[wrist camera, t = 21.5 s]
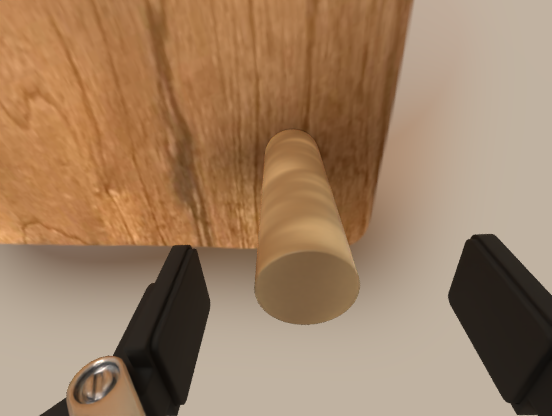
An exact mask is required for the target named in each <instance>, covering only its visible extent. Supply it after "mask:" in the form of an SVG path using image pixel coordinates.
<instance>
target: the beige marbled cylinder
mask: <svg viewBox="0 0 552 416" xmlns="http://www.w3.org/2000/svg"><path fill="white" fill-rule="evenodd" d="M254 289H255V296H256V298H257V301H258V303H259V304H260V306H261V307H262V308H263V310H264V311H266V312H267V313H268V314H269V315H271V316H272V317H274V318H276V319H278V320H281V321H283V322H287V323H292V324H301V325H310V324H318V323H322V322H326V321H329V320H332V319H334V318H336V317H338V316H340V315H341V314H343V313H344V312H346V311H347V310H348V309H349V308H350V307H351V306H352V305H353V303H354V302H355V300H356V299H357V296H358V293H359V289H360V280H359V276H358V273H357V270H356V266H355V263H354V260H353V257H352V254H351V251H350V247H349V244H348V241H347V238H346V235H345V231H344V228H343V225H342V222H341V219H340V216H339V212H338V209H337V206H336V203H335V200H334V197H333V193H332V190H331V187H330V184H329V181H328V178H327V174H326V171H325V168H324V165H323V162H322V159H321V155H320V152H319V149H318V146H317V144H316V142H315V140H314V139H313V138H312V137H311V136H310V135H309V134H307V133H306V132H304V131H301V130H296V129H289V130H284V131H281V132H279V133H278V134H276V135H275V136H274V137H272V138H271V140H270V141H269V143H268V144H267V147H266V150H265V160H264V172H263V185H262V198H261V210H260V223H259V236H258V248H257V261H256V275H255V287H254Z"/></svg>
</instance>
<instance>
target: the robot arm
mask: <svg viewBox="0 0 552 416" xmlns="http://www.w3.org/2000/svg"><path fill="white" fill-rule="evenodd" d="M448 298H449V303H450V305H451V307H452V309H453V310H454V312H455V314H456V316H457V318H458V319H459V321H460V323H461V325H462V326H463V328H464V330H465V332H466V334H467V335H468V337H469V339H470V341H471V342H472V344H473V346H474V348H475V349H476V351H477V353H478V355H479V357H480V358H481V360H482V362H483V364H484V366H485V367H486V369H487V371H488V372H489V375H490V376H491V378H492V380H493V382H494V384H495V385H496V387H497V389H498V391H499V392H500V394H501V396H502V397H503V399H504V400H505V401H506V402H508V403H511V405H512V407H513V408H514V410H515V412H516V414H517V415H538V416H552V295H551V294H550V293H549V292H548V291H547V290H546V289H545V288H544V287H543V286H542V285H541V283H540V282H539V281H538V280H537V279H536V278H535V277H534V276H533V275H532V274H531V273H530V272H529V271H528V270H527V269H526V267H524V265H523V264H522V263H521V262H520V261H519V260H518V259H517V258H516V257H515V256H514V255H513V254H512V253H511V251H510V250H509V249H508V248H507V247H506V246H505V245H504V244H503V243H502V242H501V241H500V240H499V239H498V238H497V237H496V236H495V235H493V234H479V235H473V236H472V237H471V239H468V240H467V241H466V242H465V245H464V248H463V251H462V255H461V257H460V260H459V263H458V266H457V269H456V272H455V276H454V278H453V281H452V284H451V287H450V290H449V294H448ZM209 311H210V298H209V295H208V291H207V287H206V283H205V280H204V276H203V272H202V268H201V264H200V261H199V257H198V253H197V250H196V249H192V247H191V246H190V245H174V246H173V247H172V249H171V251H170V253H169V255H168V257H167V259H166V261H165V263H164V265H163V267H162V270H161V271H160V273H159V276H158V278H157V280H156V282H155V283H151V284H150V285H149V286H148V287H147V289H146V291H145V293H144V295H143V297H142V299H141V301H140V303H139V305H138V307H137V309H136V311H135V313H134V315H133V317H132V319H131V321H130V323H129V325H128V327H127V329H126V331H125V333H124V335H123V337H122V339H121V341H120V343H119V345H118V346H117V348H116V350H115V352H114V354H113V356H105V357H100V358H98V359H96V360H94V361H91V362H90V363H89V364H87V365H86V366H84V367H83V368H82V369H81V370H80V371H79V372H78V373H77V374H76V375H75V376H74V378H73V379H72V381H71V382H70V384H69V387H68V389H67V392H66V394H67V395H66V396H67V397H66V398H65V399H63V400H62V401H61V402H59V403H57V404H56V405H54V406H53V407H52V408H50V409H49V410H47V411H46V412H44V413H43V414H41V415H40V416H177V415H178V411H179V407H180V405H184V404H185V402H186V400H187V396H188V392H189V389H190V384H191V381H192V376H193V373H194V369H195V365H196V361H197V357H198V353H199V349H200V346H201V342H202V338H203V334H204V330H205V326H206V322H207V318H208V314H209Z"/></svg>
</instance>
